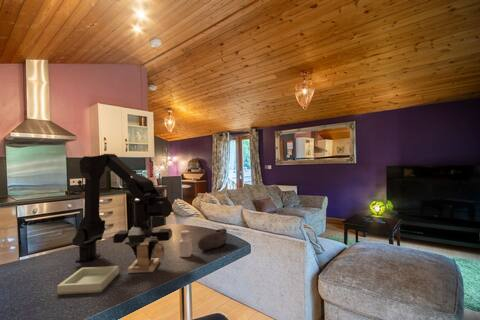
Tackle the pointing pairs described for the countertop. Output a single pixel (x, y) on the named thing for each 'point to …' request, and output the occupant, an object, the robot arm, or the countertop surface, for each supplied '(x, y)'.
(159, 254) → the wooden fragment
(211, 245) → the perforated stone tool
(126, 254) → the countertop surface
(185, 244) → the pepper shaker
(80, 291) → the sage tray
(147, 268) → the birch stand
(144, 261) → the wooden block
